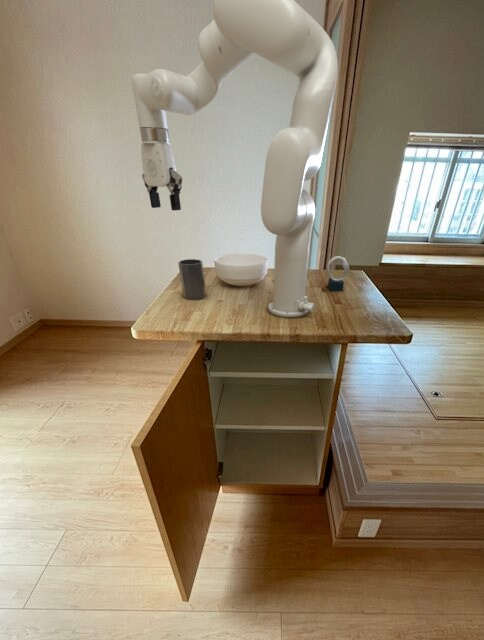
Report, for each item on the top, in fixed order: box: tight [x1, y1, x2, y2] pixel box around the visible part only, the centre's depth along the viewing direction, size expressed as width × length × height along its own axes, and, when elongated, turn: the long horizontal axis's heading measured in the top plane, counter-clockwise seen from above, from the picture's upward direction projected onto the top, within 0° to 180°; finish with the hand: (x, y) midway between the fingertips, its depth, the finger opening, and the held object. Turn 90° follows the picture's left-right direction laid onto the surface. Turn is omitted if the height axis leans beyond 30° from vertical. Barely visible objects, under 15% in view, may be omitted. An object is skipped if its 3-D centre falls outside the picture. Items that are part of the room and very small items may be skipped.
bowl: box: [213, 252, 269, 287], centre depth 117 cm, size 20×20×8 cm
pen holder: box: [177, 258, 207, 301], centre depth 103 cm, size 7×8×11 cm
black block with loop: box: [326, 255, 351, 292], centre depth 112 cm, size 6×8×11 cm
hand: (166, 208), depth 98 cm, fingers open, 9 cm apart
